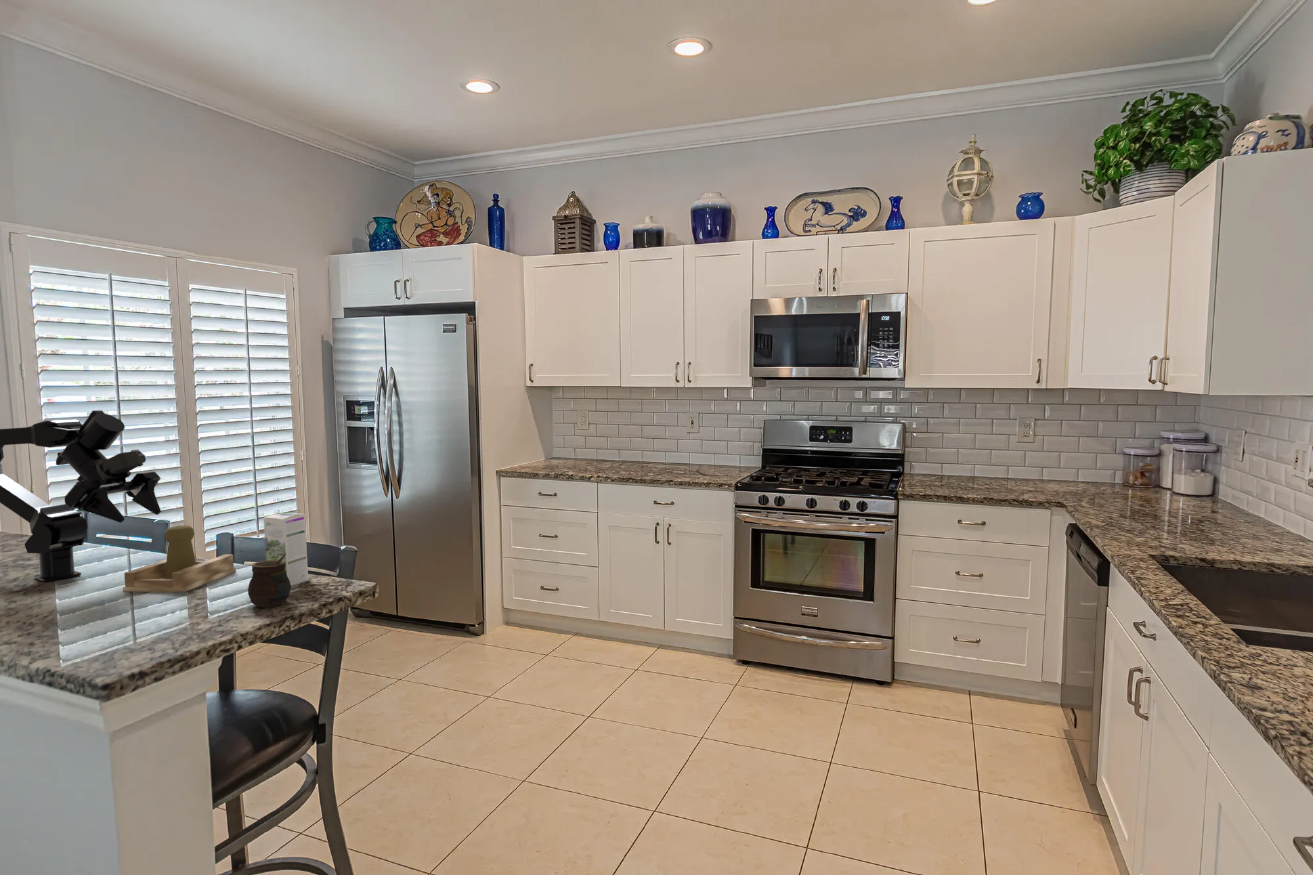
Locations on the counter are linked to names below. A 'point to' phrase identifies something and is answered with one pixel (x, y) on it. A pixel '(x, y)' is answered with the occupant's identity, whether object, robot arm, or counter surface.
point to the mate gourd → (269, 583)
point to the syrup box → (287, 543)
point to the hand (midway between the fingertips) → (141, 517)
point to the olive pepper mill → (179, 549)
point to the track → (178, 575)
